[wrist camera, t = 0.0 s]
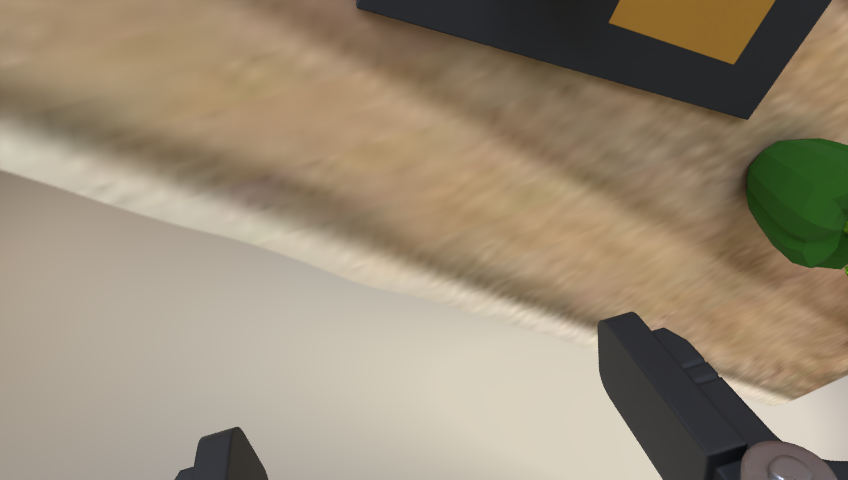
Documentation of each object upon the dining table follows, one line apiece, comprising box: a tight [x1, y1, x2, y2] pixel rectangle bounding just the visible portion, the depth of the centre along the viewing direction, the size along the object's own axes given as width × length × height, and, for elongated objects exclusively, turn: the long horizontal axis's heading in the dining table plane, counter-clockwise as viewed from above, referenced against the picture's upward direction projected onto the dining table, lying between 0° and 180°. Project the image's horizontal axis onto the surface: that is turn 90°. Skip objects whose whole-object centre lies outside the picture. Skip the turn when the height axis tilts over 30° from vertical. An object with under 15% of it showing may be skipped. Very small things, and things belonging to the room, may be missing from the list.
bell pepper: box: [746, 138, 848, 276], centre depth 38 cm, size 8×8×10 cm
